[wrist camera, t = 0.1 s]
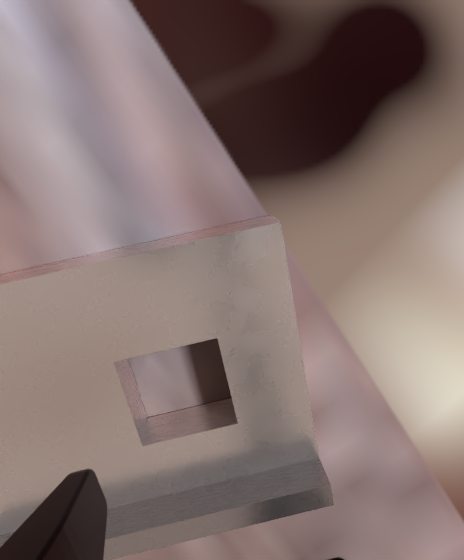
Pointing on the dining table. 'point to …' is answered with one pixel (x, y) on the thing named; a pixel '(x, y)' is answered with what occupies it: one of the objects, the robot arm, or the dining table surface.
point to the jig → (126, 399)
